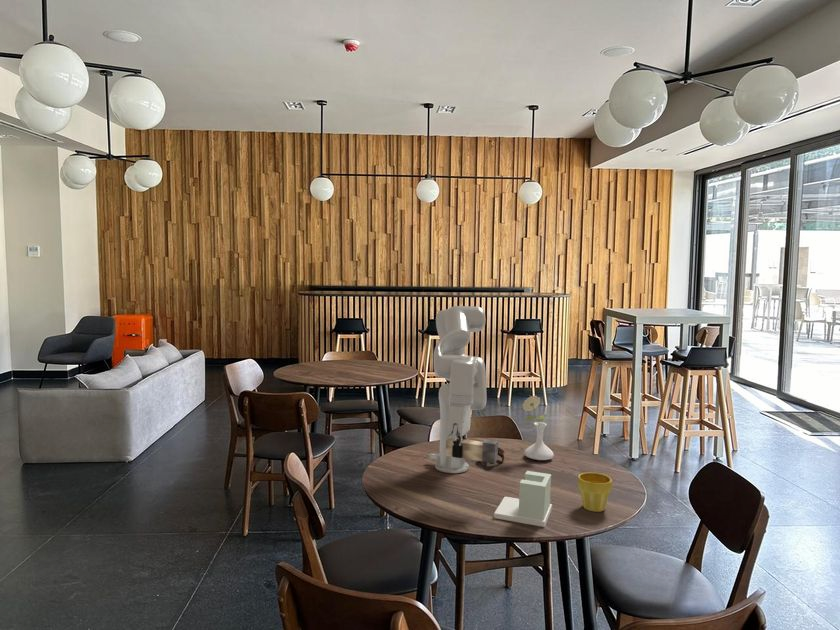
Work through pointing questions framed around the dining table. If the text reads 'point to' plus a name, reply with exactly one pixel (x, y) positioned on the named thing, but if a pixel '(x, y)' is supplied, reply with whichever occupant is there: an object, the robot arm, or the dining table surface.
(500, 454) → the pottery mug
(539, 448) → the flower in vase
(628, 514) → the dining table surface
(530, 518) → the slotted block on base
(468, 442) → the rail
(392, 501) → the dining table surface
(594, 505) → the plant pot
